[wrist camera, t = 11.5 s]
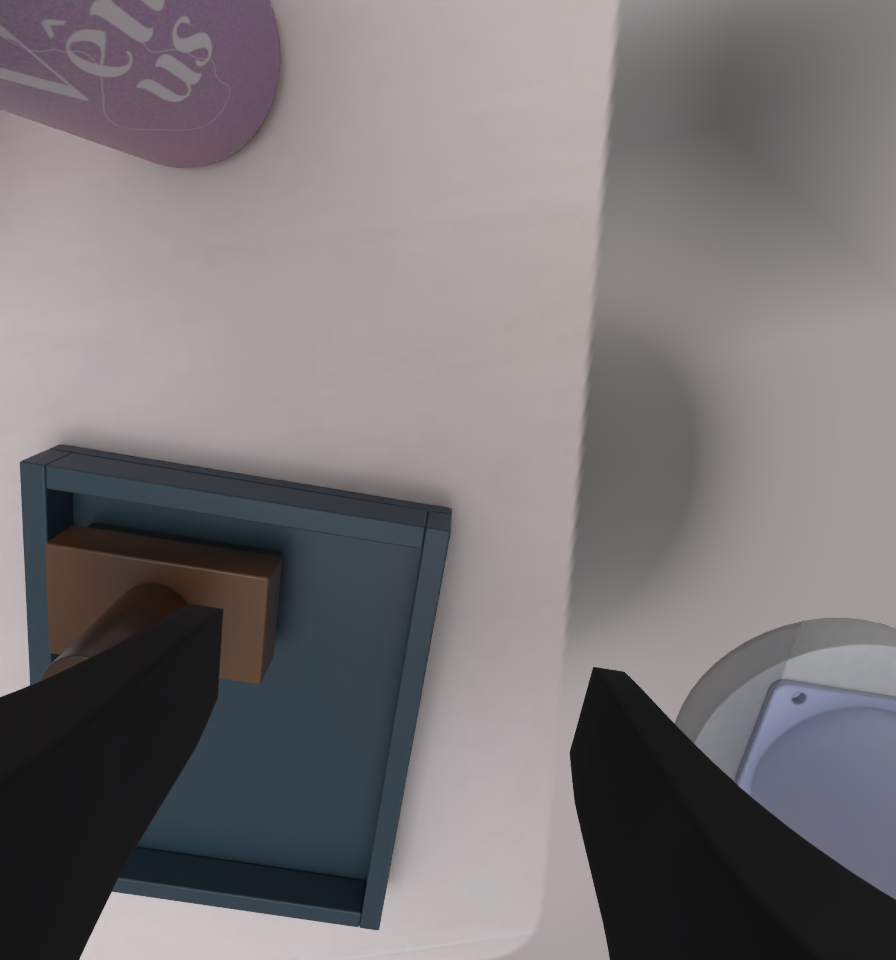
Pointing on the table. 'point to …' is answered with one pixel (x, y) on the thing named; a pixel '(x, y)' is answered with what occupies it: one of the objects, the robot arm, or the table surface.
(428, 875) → the table surface
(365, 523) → the tray
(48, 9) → the beverage can
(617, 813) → the robot arm
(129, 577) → the wooden stamp
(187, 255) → the table surface
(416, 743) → the table surface
